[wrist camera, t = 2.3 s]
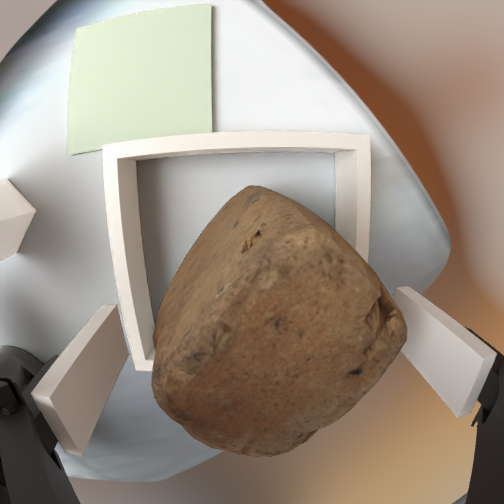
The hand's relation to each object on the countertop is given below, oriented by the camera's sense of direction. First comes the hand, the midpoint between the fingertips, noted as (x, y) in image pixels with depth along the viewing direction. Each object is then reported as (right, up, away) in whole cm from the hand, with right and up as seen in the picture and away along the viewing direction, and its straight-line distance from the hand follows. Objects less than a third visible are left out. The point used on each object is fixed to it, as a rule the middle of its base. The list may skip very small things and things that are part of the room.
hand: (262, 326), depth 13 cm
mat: (-11, +20, +9) cm, 24 cm away
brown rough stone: (-2, +4, +15) cm, 15 cm away
